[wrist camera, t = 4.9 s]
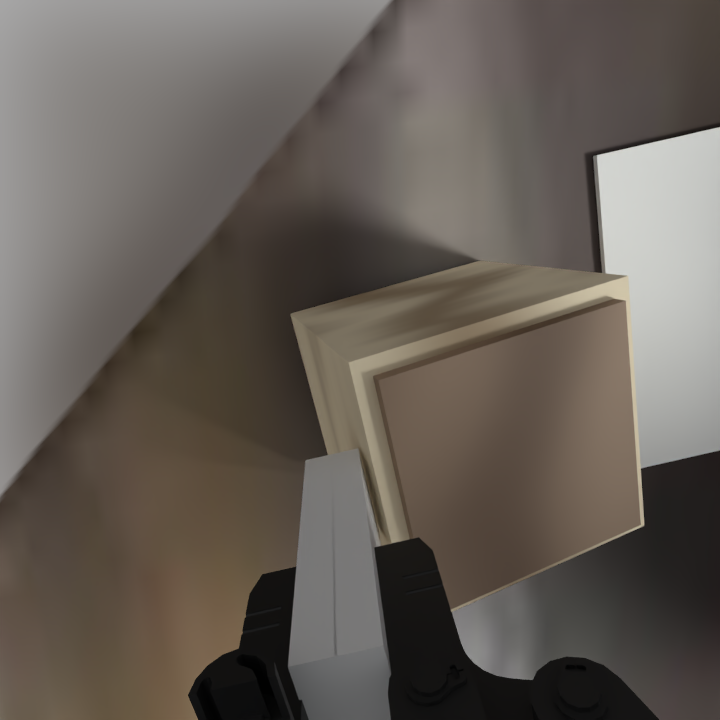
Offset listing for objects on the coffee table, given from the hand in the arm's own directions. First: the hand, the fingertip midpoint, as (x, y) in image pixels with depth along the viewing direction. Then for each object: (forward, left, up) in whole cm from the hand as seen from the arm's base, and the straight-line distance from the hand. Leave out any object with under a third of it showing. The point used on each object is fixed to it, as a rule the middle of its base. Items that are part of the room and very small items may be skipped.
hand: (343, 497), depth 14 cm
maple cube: (-3, 0, -8) cm, 8 cm away
